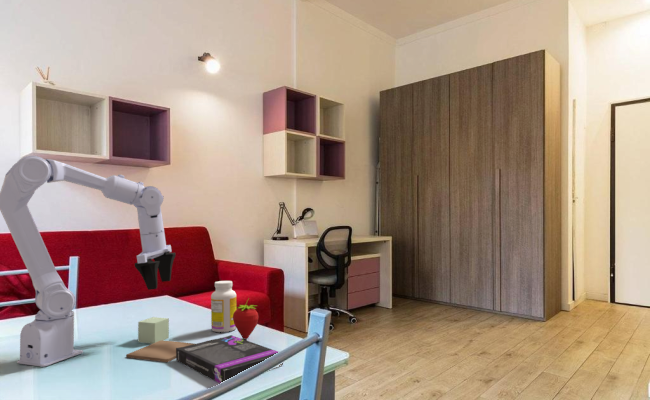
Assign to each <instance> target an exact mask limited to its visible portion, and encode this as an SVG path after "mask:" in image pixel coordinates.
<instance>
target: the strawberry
mask: <svg viewBox="0 0 650 400" xmlns="http://www.w3.org/2000/svg"><path fill="white" fill-rule="evenodd" d="M249 299H250V298H249V297H248V299H247V300H246V302H248V301H249ZM256 307H258V305H254V304H250V305H248V304H239V306H236V311H235V312H234V314H233V321H234V324H235V326H236V330H237V332H238V333H239V334H240V336H241V337H242V339H244V340H247V339H249V337H250V335H251V334H252V333H253V332H254V330H255V329H256V326H257V325H258V321H259V312H257V308H256Z"/></svg>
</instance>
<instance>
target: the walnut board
mask: <svg viewBox="0 0 650 400" xmlns="http://www.w3.org/2000/svg"><path fill="white" fill-rule="evenodd" d="M193 344H195V343H192V342H183V341H175V340H174V341H173V340H172V341H171V340H160V341H158V342H156V343H153V344H152V343H150V344H148V345H146V346H144V347H142V348H141V347H140V349H139V348H138V349H136V350H134V351H132V352H129V353H126V358H127V359H128V358H129V359H138V360H144V361H145V360H146V361H153V362H162V363H169V362H172V361H174V360H176V348H180V347H185V346H189V345H193Z"/></svg>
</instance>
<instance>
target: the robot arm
mask: <svg viewBox="0 0 650 400" xmlns="http://www.w3.org/2000/svg"><path fill="white" fill-rule="evenodd" d="M125 177H126V176H125V175H123V174H117V175H115V174H113V175H112V174H111V175H110V176H107V177H104V176H101V175H99V174H96V173H93V172H90V171H88V170H84V169H82V168H79V167H75V166H72V165H71V164H68V163H64V162H61V161H58V160H55V159H50V158H45V159H44V158H43V157H41V156H38V155H26V156H24V157H22V158H20V159H19V160H17V162H16V163H14V164H13V165H12V167H11V168H10V169H9V170H8V171H7V172H6V173H5V175H4V180H3V183H2V186H1V188H0V212H1V215H2V218H3V220H4V221H5V224H6V226H7V228H8V230H9V232H10V235H11V237H12V239H13V241H14V243H15V245H16V248H17V250H18V252H19V255H20V256H21V259H22V261H23V264H24V265H25V268H26V269H27V272H28V274H29V277H30V279H31V281H32V286H33V288H34V290H35V299H34V301H35V304H36V307H37V308H38V309H39V311H38V312H37V313H36V315H35V316H34V318H35V319H34V320H33V321H31V322H27V323H26V324H25V325H24V326H23V327H22V329H21V331H20V335H19V336H20V337H19V338H20V339H19V360H16V363H17V364H21V365H28V366H34V367H43V368H44V367H48V366H50V365H53V364H56V363H58V362H59V363H60V362H62V361H64V360H67V359H69V358H70V359H71V358H73V357H76V356H77V355H80V354H83V353H84V351H83V350H81V349H74V346H75V345H74V343H75V342H74V341H75V339H74V338H75V336H74V335H75V327H74V326H75V324H74V323H75V312H74V308H75V307H76V302H77V300H76V295H75V294H74V292H73V291H71V290H70V289H68V288H67V287H66V285H65V283H64V281H63V280H62V278H61V276H60V275H59V273H58V272H57V269H56V267H55V264H54V263H53V260H52V258H51V256H50V253H49V252H48V251H49V250H48V248H47V247H46V244H45V242H44V240H43V237H42V236H41V232H40V231H39V228H38V226H37V223H36V222H35V219H34V218H33V215H32V213H31V210H30V207H29V206H28V204H29V201H30V200H31V199H32V197H33V195H34V194H35V192H36V190H38V189H39V188H41V187H42V186H43V185H44V184H45V183H47V184H51V183H56V182H58V183H59V182H63V181H64V182H68V183H71V184H75V185H79V186H82V187H86V188H87V187H88V188H91V189H94V190H98V191H101V193H102V194H103V196H104V197H105V198H107V199H110V200H113V201H117V202H120V203H123V204H127V205H130V206H132V205H133V206H134V207H135V208H136V212H137V220H138V226H139V234H140V242H141V243H140V244H141V249H142V250H141V252H140V253H139V254H138V255H136V260H137V262H134V268H135V269H136V270H137V271H138V272H139V273H140V276H141V277H142V279H143V281H144V284H145V286H146V288H147V290H148V291H150V290H151V291H152V290H156V289H158V273H159V277H160V280H161V282H163V283H164V282H170V281H171V279H172V270H173V265H174V260H175V258H176V252H172V246H171V244H167V241H166V234H165V227H164V219H163V214H162V204H163V202H164V195H163V194H162V192H161V190H159V188H158V187H155V186H153V185H152V186H151V185H148V186H144V184H145V183H144V182H143V181H138V182H137V181H133V180H131V179H127V178H125Z"/></svg>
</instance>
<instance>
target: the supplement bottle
mask: <svg viewBox="0 0 650 400" xmlns="http://www.w3.org/2000/svg"><path fill="white" fill-rule="evenodd" d="M233 285H234V284H233V281H232V280H219V281H215V282H214V287H215V290H214V291H213V292H212V293H211V295H210V305H211V306H210V310H211V311H210V312H211V313H210V314H211V319H210V320H211V321H210V322H211V323H210V324H211V330H212V331H213V332H215V333H220V332H221V333H228V332H229V331H230V332H232V331H235V330H237V328H236V326H235V324H234V321H233V314H234V312H235V311H236V310H237V308H236V307H237V293H236V291H235V290H233Z"/></svg>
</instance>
